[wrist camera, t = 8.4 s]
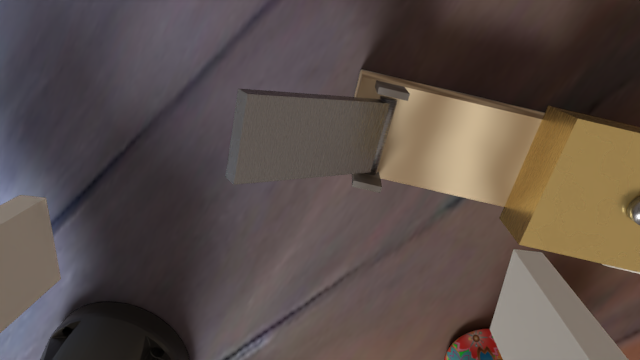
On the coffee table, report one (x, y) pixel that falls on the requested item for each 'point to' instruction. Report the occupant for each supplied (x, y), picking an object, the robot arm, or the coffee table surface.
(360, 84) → the body
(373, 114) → the lever
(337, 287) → the coffee table surface
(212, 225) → the coffee table surface
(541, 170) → the yellow block with knob
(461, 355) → the mug
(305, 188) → the coffee table surface
